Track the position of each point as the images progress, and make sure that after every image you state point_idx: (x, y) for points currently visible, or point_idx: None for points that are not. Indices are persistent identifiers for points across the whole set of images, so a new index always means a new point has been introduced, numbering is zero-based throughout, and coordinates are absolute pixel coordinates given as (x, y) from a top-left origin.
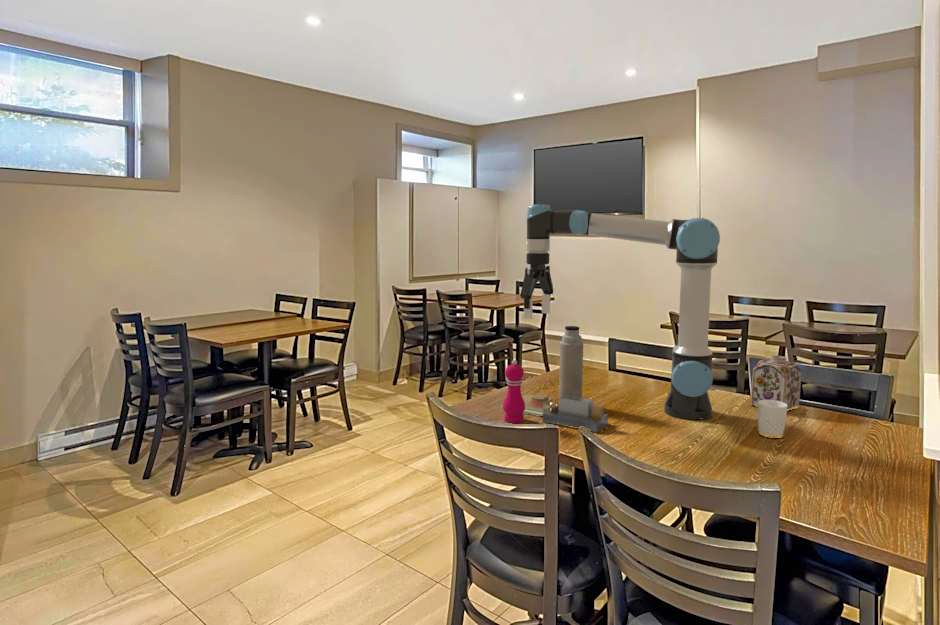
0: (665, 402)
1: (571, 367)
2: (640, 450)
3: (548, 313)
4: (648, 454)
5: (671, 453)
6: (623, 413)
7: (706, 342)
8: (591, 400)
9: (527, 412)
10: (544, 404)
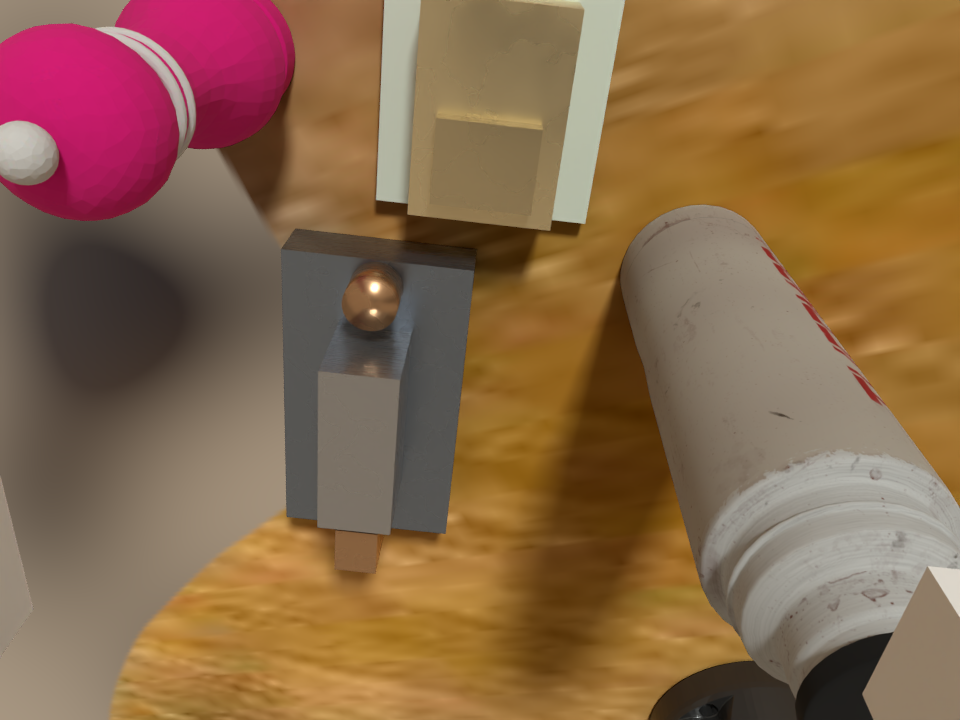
0: (751, 697)
1: (663, 443)
2: (208, 637)
3: (869, 689)
4: (188, 659)
5: (245, 708)
6: (637, 533)
7: None
8: (369, 530)
9: (381, 92)
10: (424, 212)
